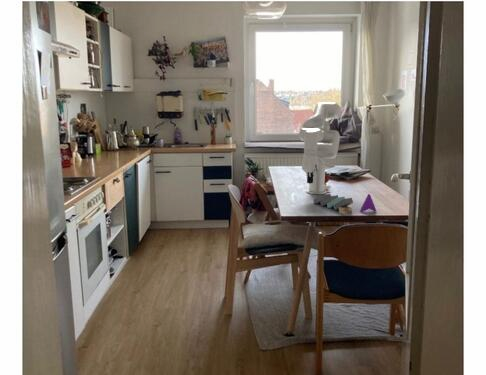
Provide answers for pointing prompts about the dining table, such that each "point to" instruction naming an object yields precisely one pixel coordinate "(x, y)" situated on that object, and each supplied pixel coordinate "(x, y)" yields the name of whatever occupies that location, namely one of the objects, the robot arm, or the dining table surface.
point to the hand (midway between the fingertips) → (310, 182)
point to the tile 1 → (321, 198)
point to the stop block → (345, 209)
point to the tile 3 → (343, 203)
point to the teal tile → (334, 202)
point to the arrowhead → (368, 204)
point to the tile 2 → (328, 200)
